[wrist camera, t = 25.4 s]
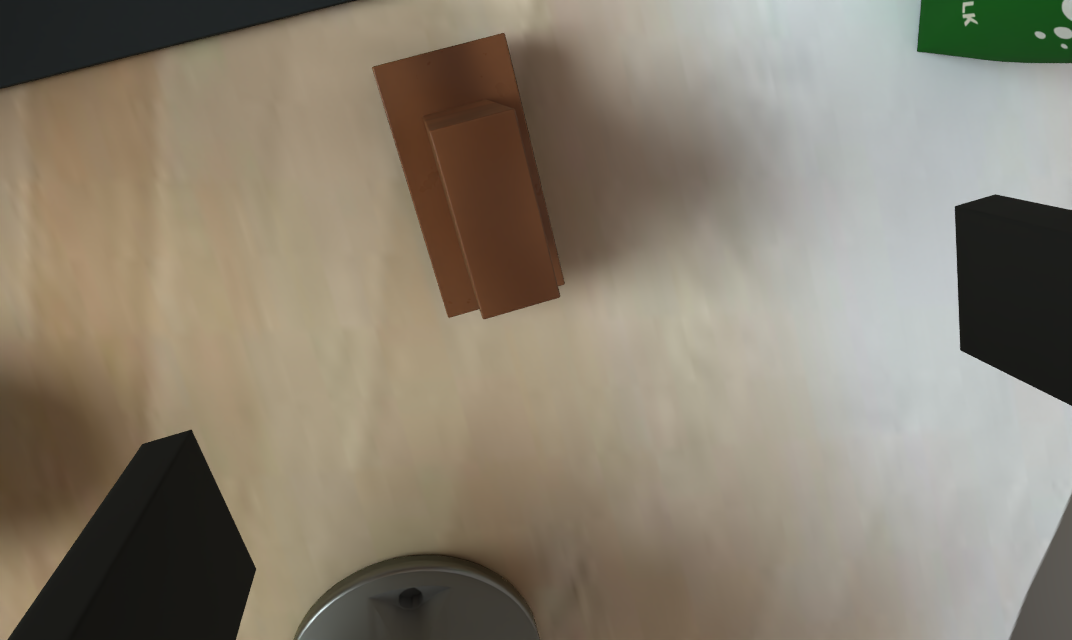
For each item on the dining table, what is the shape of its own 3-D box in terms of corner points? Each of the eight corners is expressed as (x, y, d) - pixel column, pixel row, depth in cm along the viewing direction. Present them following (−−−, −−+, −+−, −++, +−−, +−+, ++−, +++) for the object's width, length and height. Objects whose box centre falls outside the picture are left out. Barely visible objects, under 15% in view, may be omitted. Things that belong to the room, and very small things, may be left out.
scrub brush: (444, 299, 39) (462, 391, 28) (374, 67, 35) (361, 65, 24) (552, 268, 40) (612, 346, 29) (496, 35, 36) (539, 19, 24)
